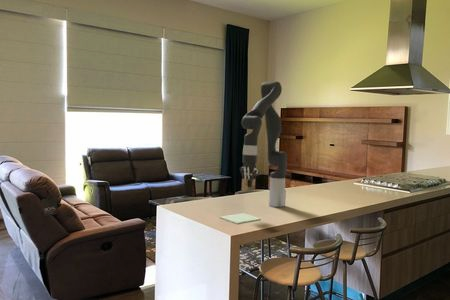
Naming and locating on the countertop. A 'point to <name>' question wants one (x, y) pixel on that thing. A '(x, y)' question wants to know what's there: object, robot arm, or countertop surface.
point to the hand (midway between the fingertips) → (248, 186)
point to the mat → (240, 218)
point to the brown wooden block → (245, 185)
